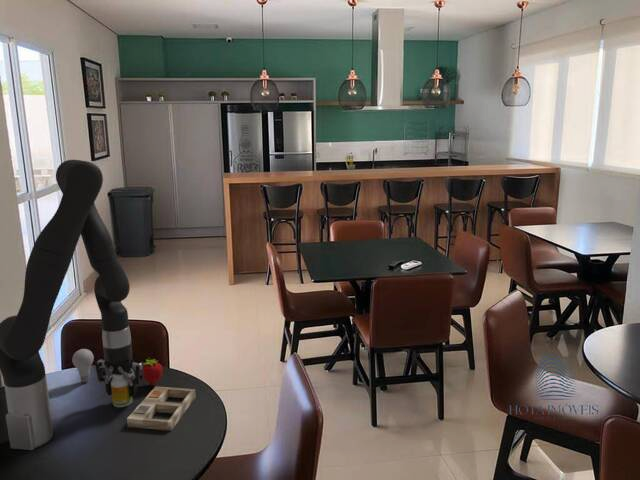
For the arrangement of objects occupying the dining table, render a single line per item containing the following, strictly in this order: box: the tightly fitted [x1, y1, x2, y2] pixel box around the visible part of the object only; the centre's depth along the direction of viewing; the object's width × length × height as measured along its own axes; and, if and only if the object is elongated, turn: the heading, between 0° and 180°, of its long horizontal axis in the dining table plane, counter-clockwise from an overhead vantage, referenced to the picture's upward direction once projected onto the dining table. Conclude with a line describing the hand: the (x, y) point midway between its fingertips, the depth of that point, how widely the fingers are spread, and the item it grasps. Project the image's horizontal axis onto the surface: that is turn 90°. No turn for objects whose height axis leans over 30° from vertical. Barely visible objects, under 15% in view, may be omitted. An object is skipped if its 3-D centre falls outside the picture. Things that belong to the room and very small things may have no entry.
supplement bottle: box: [111, 374, 133, 408], centre depth 152 cm, size 5×5×10 cm
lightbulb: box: [71, 348, 95, 383], centre depth 164 cm, size 6×6×11 cm
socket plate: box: [126, 385, 197, 432], centre depth 148 cm, size 18×12×3 cm
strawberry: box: [143, 358, 164, 387], centre depth 161 cm, size 6×8×10 cm
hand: (122, 394), depth 152 cm, fingers open, 6 cm apart
